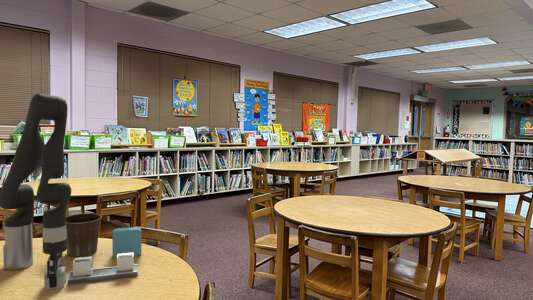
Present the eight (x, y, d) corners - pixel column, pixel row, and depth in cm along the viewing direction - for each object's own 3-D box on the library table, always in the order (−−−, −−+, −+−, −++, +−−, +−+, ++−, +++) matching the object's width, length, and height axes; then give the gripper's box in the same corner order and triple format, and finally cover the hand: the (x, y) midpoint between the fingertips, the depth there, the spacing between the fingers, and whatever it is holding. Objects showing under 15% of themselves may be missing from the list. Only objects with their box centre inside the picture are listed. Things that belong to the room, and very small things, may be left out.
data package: (140, 251, 163) (141, 226, 162) (141, 255, 159) (141, 229, 158) (112, 254, 159) (112, 228, 158) (112, 258, 154) (112, 231, 154)
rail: (67, 284, 128) (67, 264, 128) (71, 275, 136) (70, 256, 135) (137, 276, 137) (137, 257, 136) (137, 268, 144) (137, 250, 144)
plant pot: (101, 256, 156) (101, 221, 155) (59, 261, 150) (58, 224, 148) (102, 245, 171) (102, 212, 170) (64, 248, 164) (64, 214, 163)
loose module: (44, 289, 124) (44, 272, 124) (47, 284, 128) (46, 267, 128) (63, 287, 126) (63, 270, 126) (66, 282, 130) (65, 265, 130)
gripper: (47, 233, 131) (47, 275, 132) (37, 245, 118) (38, 292, 119) (69, 231, 134) (70, 273, 135) (63, 243, 121) (63, 289, 122)
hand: (55, 282), depth 127 cm, fingers open, 8 cm apart
